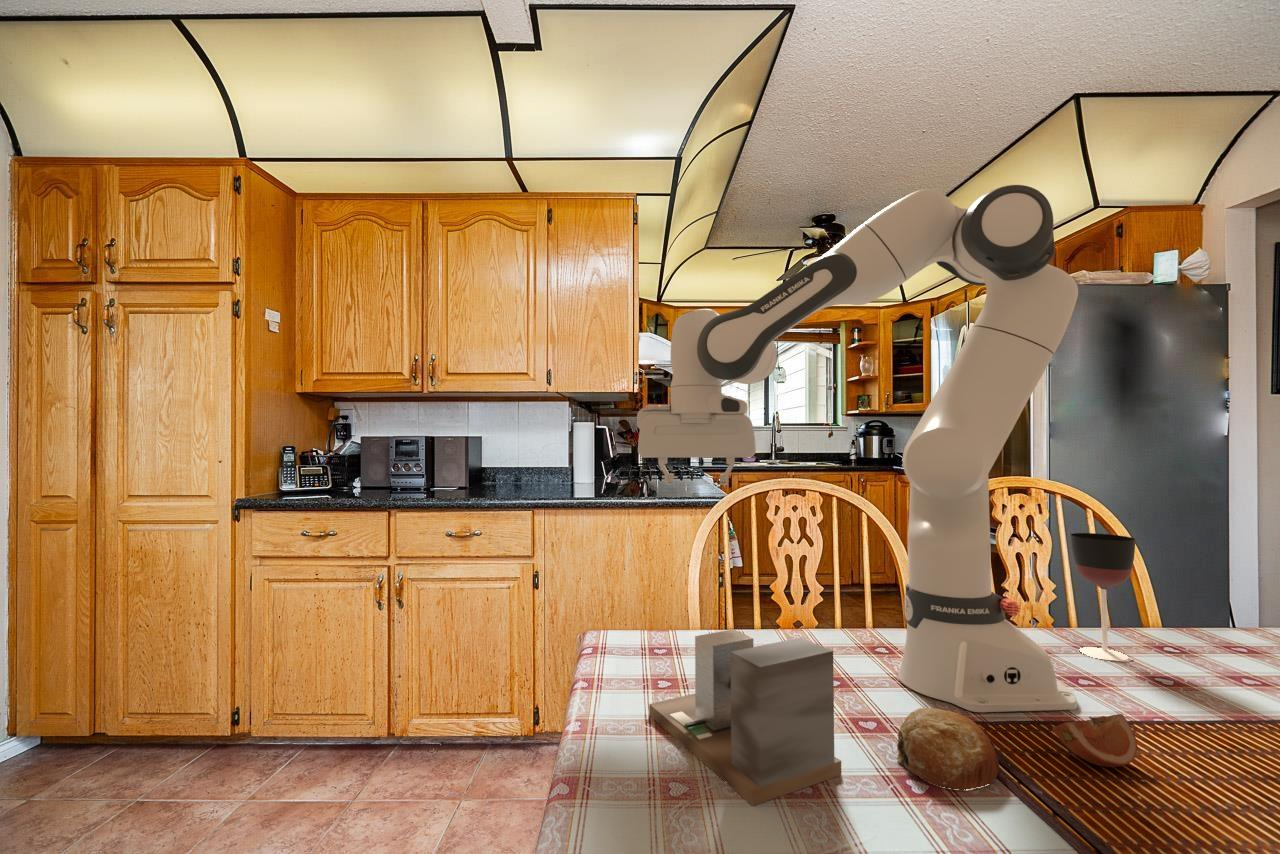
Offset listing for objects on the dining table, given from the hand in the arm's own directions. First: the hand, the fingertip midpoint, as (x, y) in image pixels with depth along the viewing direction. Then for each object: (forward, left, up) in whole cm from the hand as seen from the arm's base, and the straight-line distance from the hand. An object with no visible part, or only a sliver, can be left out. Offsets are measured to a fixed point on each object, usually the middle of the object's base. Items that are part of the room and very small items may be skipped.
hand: (696, 484), depth 102 cm
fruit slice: (-46, +28, -29) cm, 61 cm away
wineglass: (-69, -9, -29) cm, 76 cm away
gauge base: (-6, +29, -29) cm, 42 cm away
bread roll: (-29, +31, -30) cm, 52 cm away
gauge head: (-4, +29, -27) cm, 40 cm away
